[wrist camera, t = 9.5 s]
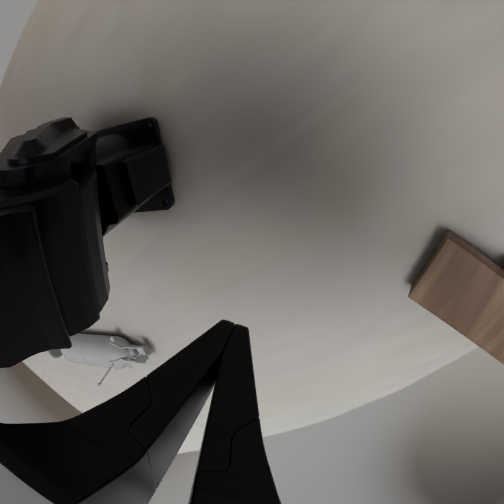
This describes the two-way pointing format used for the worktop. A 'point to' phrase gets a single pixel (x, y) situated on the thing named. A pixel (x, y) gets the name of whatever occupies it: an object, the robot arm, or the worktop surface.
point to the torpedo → (103, 351)
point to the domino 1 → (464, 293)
